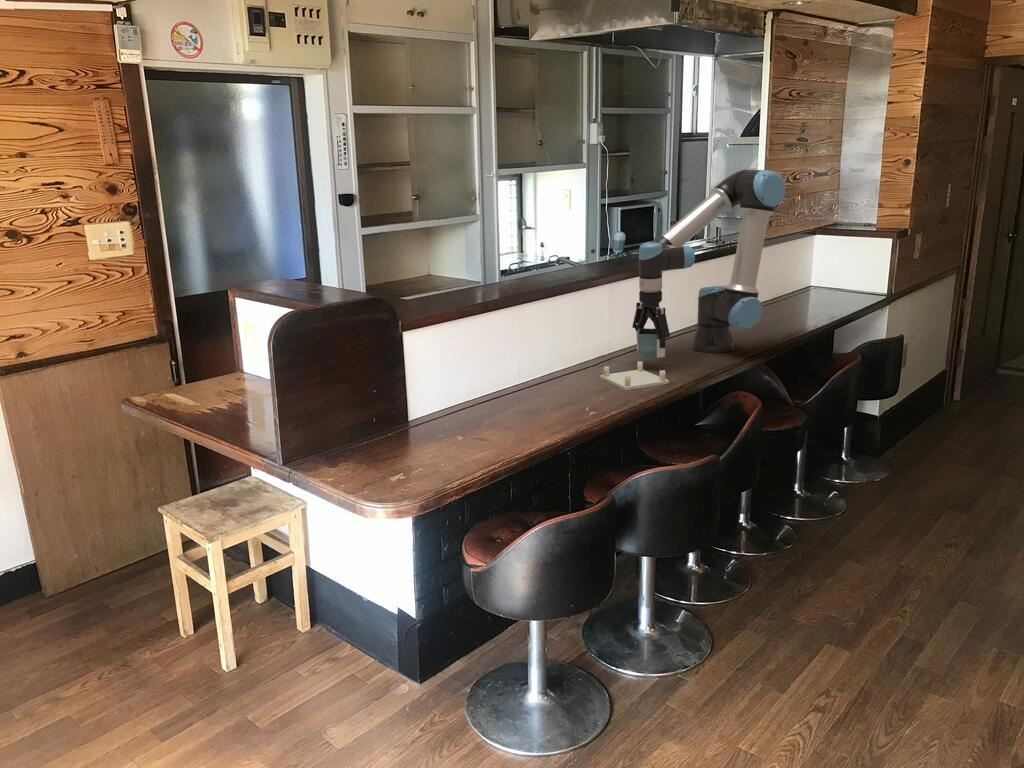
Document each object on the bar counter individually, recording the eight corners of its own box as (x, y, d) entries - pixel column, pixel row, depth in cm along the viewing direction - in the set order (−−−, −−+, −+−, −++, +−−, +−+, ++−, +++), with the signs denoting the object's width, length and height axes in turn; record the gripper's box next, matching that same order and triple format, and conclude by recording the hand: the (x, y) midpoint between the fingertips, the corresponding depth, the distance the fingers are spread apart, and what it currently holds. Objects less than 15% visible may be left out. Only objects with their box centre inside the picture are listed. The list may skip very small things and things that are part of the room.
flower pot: (663, 360, 280) (663, 334, 277) (637, 360, 282) (636, 334, 279) (664, 353, 288) (664, 328, 286) (638, 353, 290) (638, 328, 287)
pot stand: (641, 371, 281) (641, 360, 280) (668, 383, 267) (669, 371, 266) (600, 378, 275) (600, 366, 274) (626, 390, 261) (626, 378, 260)
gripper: (621, 286, 287) (622, 347, 294) (661, 296, 266) (661, 362, 273) (640, 283, 290) (640, 344, 297) (681, 294, 269) (680, 359, 276)
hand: (650, 353), depth 285 cm, fingers closed on flower pot, 12 cm apart
